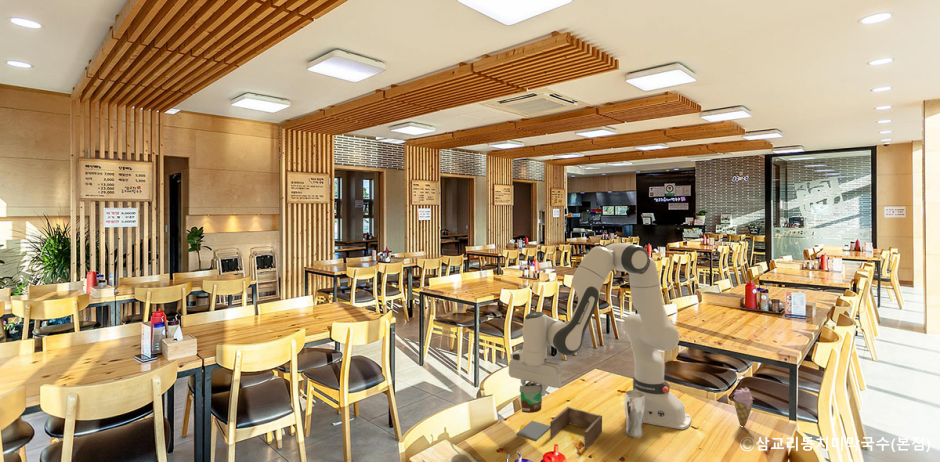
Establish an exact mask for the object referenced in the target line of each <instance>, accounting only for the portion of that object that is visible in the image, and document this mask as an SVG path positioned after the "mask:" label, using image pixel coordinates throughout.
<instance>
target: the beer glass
mask: <svg viewBox="0 0 940 462" xmlns="http://www.w3.org/2000/svg"><path fill="white" fill-rule="evenodd" d="M644 396H645V395H644V394H643V393H642V392H640V391H635V390H633V389H631V390H626V391H625V396H624V411H625V417H626V418H625V419H626V428H625V435H626V436H628V437H630V438H634V439H640V438H642V437H644V431H643V423H642V422H643V417H644V412H645V397H644Z"/></svg>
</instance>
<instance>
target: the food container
mask: <svg viewBox="0 0 940 462" xmlns="http://www.w3.org/2000/svg"><path fill="white" fill-rule="evenodd" d="M541 390H543V387H542V385H541V384H537V383H533V382H529V381H527V382H526V385H525V386H522V385H520V387H519V393H520V401H521V412H522V413H524V414H526V413H527V414H533V413H538V412H540V411H541V410H542V405H543V404H542V401H543V396H540V391H541Z"/></svg>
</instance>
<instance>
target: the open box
mask: <svg viewBox="0 0 940 462" xmlns="http://www.w3.org/2000/svg"><path fill="white" fill-rule="evenodd" d="M549 424H550V425H549V426H550V429H549V430H550V433H549V437H550V439H552V440H553V438H555V437H556V436H558V434H559V433H560V432H561V431H563V430H564V428H565V427H566V426H567V425H568V424H569V425H572V426H576V427H580V428H582V429H583V428H585V429H586V430H585V431H584V450H587V449H588V448H590V446H591V445H592V444H593V443H594V441H596V439H597V438H598V437H599V436H600V435H601V433H603V415H601V414H597V413H593V412H589V411H585V410H581V409H578V408H574V407H569V406H566V407H565V408H564V409H563V410H562V411H561V412H560V413H558V415H556V416H554V418H553V419H551V421H550V423H549ZM588 450H589V449H588Z"/></svg>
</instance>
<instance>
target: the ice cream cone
mask: <svg viewBox="0 0 940 462" xmlns="http://www.w3.org/2000/svg"><path fill="white" fill-rule="evenodd" d="M733 395H734V397H732V398H733V402H734V407H735V411H736V416H737V419H738V423H739V426H740V425H741V426H743V427H744V426H745V427H746V425H747V421H748V420H749V417H750V415H751V411H752V407H753V403H754V402H753V400H755V398H753V396H752V391H750V389H749V388H748V387H746V386H745V387H744V388H743V387H740V389H735V392H733ZM741 426H740V427H741ZM743 427H742V428H743ZM745 427H744V428H745Z"/></svg>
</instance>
